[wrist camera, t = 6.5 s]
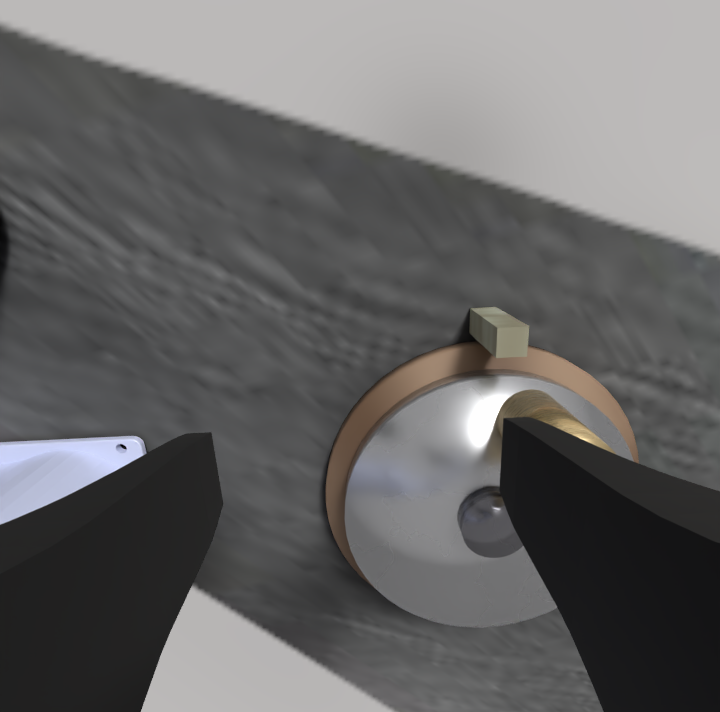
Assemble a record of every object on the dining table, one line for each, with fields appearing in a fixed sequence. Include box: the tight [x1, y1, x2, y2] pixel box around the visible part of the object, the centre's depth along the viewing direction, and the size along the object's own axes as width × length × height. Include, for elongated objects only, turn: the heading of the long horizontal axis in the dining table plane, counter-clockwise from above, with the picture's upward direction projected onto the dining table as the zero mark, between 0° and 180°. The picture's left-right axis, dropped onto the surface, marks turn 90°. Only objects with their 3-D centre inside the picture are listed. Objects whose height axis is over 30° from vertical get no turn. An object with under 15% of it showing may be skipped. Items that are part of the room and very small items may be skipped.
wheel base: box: [326, 307, 639, 587], centre depth 21 cm, size 16×18×4 cm
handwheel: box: [345, 369, 634, 627], centre depth 19 cm, size 14×14×6 cm
